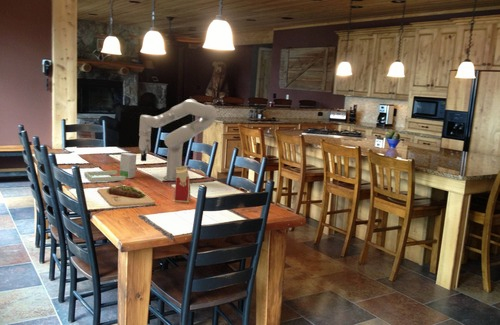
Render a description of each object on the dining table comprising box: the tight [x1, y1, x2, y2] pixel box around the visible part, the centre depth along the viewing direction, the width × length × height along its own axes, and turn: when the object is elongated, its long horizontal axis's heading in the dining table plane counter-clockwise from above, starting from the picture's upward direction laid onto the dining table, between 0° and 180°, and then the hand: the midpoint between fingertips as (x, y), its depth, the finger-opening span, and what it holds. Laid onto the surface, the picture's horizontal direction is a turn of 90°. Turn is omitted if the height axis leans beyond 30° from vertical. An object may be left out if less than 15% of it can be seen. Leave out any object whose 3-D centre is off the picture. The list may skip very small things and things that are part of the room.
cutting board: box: [97, 181, 155, 208], centre depth 255 cm, size 35×23×8 cm
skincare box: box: [119, 152, 137, 179], centre depth 303 cm, size 8×7×16 cm
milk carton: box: [172, 165, 191, 203], centre depth 257 cm, size 9×9×20 cm
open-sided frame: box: [84, 170, 126, 183], centre depth 296 cm, size 18×21×2 cm
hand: (143, 160), depth 309 cm, fingers closed
